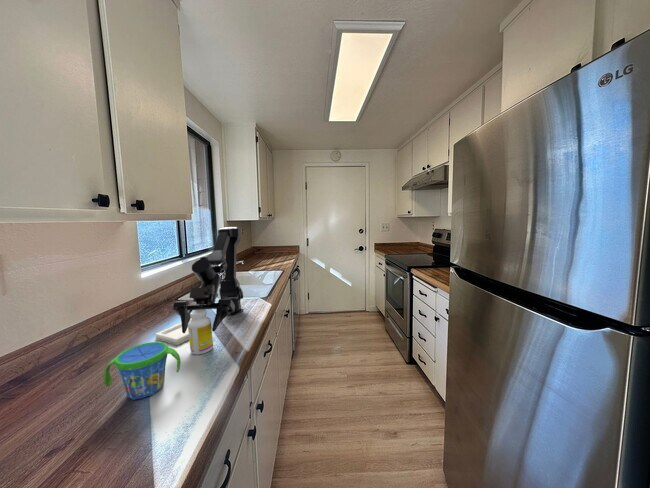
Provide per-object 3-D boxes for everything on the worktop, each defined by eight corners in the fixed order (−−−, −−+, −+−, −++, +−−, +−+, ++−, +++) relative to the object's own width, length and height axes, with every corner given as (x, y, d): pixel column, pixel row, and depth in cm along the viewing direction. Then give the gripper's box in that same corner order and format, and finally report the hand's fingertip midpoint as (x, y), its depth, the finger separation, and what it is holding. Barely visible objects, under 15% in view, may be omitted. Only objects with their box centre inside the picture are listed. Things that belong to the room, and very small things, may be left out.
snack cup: (187, 372, 69) (184, 337, 68) (173, 398, 59) (169, 357, 58) (122, 382, 66) (117, 346, 65) (96, 412, 56) (89, 369, 54)
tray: (186, 325, 101) (186, 320, 101) (207, 330, 96) (207, 325, 95) (156, 339, 90) (155, 333, 90) (177, 345, 85) (176, 339, 85)
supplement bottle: (217, 344, 84) (214, 308, 83) (206, 355, 77) (202, 315, 76) (198, 344, 85) (195, 308, 83) (185, 355, 78) (181, 315, 77)
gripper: (171, 277, 82) (154, 324, 72) (229, 274, 83) (220, 320, 73) (186, 294, 91) (172, 337, 81) (238, 291, 92) (231, 333, 82)
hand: (198, 331), depth 79 cm, fingers open, 9 cm apart
